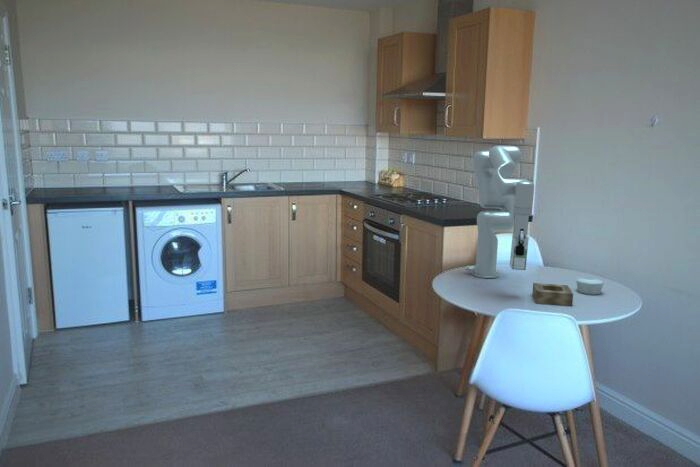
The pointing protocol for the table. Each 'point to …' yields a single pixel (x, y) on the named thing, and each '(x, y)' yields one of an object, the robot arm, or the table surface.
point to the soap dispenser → (518, 260)
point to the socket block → (552, 294)
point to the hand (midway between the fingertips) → (518, 253)
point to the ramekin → (589, 286)
